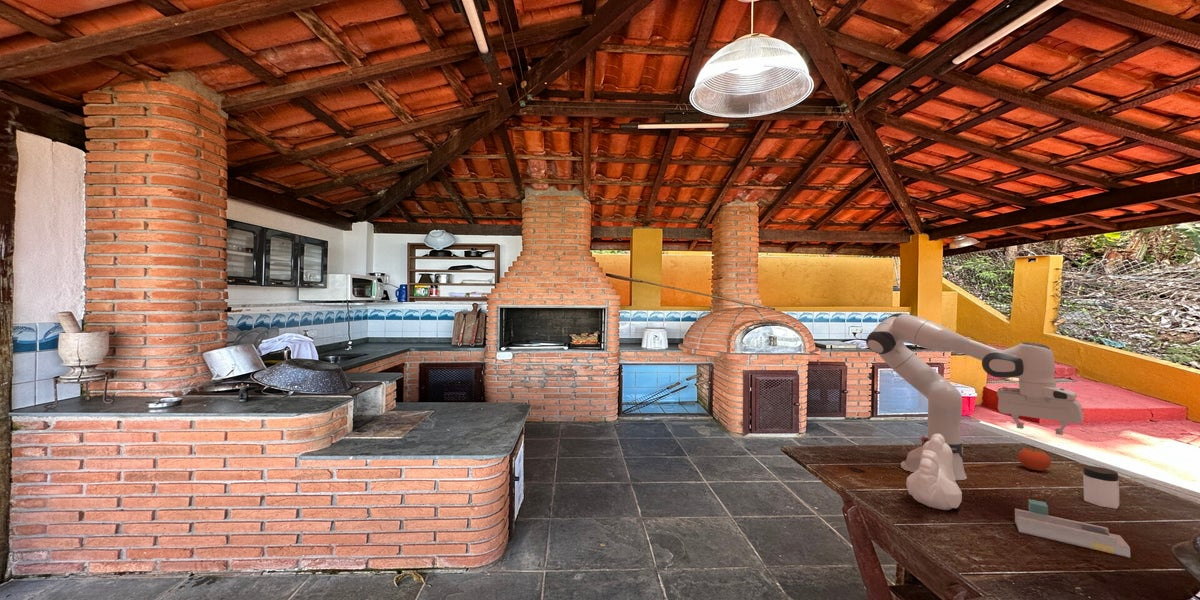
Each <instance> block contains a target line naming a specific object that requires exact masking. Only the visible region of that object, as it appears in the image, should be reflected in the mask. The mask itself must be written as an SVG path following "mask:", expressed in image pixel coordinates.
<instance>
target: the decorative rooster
mask: <svg viewBox="0 0 1200 600" xmlns="http://www.w3.org/2000/svg"><path fill="white" fill-rule="evenodd" d="M952 461H953V453H952V450H951V448H950V446H949V445H948V444H946V443H945V439H944V437H943V436H942V435H941V434H934V435H932V436H931V438H930V440H929V441H927V442H926V443H925V444H924V445H923V449H922V454H921V458H920V465H919V468H918V470H917V471H915V472H914V473H910V475H908V476H907V477H906V481H905V482H906V484H905V485H906V488H907V492H908V494H909V495H910V496H912V498H913V499H914V500H916V502H918V503H921V504H923V505H925V506H927V507H929V508H931V507H932V509H938V510H942V511H949V510H952V509H958V508H959V506H960V504H961V503H962V500H963V496H962V495H963V492H962V490H961V488H960V487H959V485H958V484H957V482H956V481H957V480H956V479H955V476H954V472H953V465H952Z"/></svg>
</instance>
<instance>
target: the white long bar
mask: <svg viewBox="0 0 1200 600" xmlns="http://www.w3.org/2000/svg"><path fill="white" fill-rule="evenodd" d="M1014 522H1015V525H1016V528H1017V531H1018V533H1021V534H1026V535H1031V536H1035V537H1039V538H1043V539H1047V540H1052V541H1057V542H1060V543H1064V544H1068V545H1073V546H1078V547H1082V548H1087V549H1091V550H1096V551H1098V552H1099V551H1100V552H1103V553H1107V554H1112V555H1117V556H1121V557H1125V558H1129V559H1131V547H1130V546H1129V544H1128V543H1127V542H1126V541H1125V540H1124V538H1123V537H1122V536H1121V535H1120V534H1115V533H1114V534H1113V533H1110V530H1109V528H1108V527H1105V526H1101V525H1095V524H1093V523H1092V524H1091V523H1088V522H1087V523H1086V522H1083V521H1082V522H1081V521H1077V520H1072V519H1067V518H1063V517H1059V516H1054V515H1044V514H1039V513H1035V512H1030V511H1029V510H1025V509H1019V508H1014Z"/></svg>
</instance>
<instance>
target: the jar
mask: <svg viewBox="0 0 1200 600" xmlns="http://www.w3.org/2000/svg"><path fill="white" fill-rule="evenodd" d="M1082 476H1083V478H1082V479H1083V481H1082V482H1083V501H1084V502H1087V503H1089V504H1092V505H1095V506H1098V507H1101V508H1109V509H1115V510H1117V509H1118V508H1119V507H1120V486H1119V485H1120V482H1119V481H1120V480H1119V473H1118V472H1117V471H1115V470H1112V469H1109V468H1105V467H1100V466H1093V465H1086V466H1085V465H1084V466H1083V475H1082Z"/></svg>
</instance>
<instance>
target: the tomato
mask: <svg viewBox="0 0 1200 600" xmlns="http://www.w3.org/2000/svg"><path fill="white" fill-rule="evenodd" d="M1032 447H1033V448H1031V447H1027V448H1026V447H1025V448H1023V449H1021V450H1019V452H1018V454H1017V459H1018V461H1019V463H1020V464H1022V466H1024V467H1025V468H1026V469H1029V470H1032V471H1036V472H1037V471H1038V472H1039V471H1040V472H1041V471H1045V470H1047V469H1049V468H1050V467H1051V465H1052V459H1051V458H1050V456H1049V455H1048V453H1046V452H1044V451H1043V450H1041V449H1036V448H1035V447H1034V446H1032Z"/></svg>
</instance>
